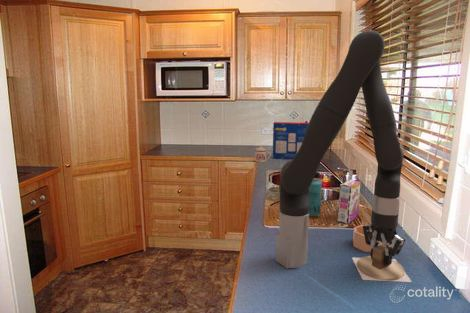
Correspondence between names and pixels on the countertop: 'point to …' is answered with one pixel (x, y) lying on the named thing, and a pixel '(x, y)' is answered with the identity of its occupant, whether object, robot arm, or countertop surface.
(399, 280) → the mat
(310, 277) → the countertop surface
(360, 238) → the bowl
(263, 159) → the teacup with lid
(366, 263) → the lid
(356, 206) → the candy bar box
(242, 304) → the countertop surface
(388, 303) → the countertop surface
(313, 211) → the beverage bottle
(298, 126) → the blue flat square box
